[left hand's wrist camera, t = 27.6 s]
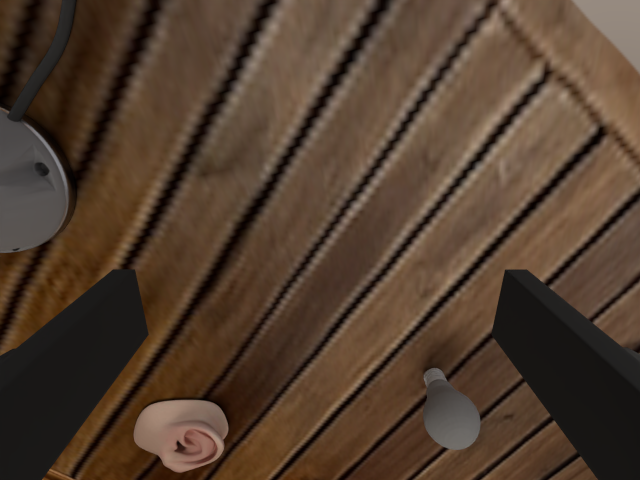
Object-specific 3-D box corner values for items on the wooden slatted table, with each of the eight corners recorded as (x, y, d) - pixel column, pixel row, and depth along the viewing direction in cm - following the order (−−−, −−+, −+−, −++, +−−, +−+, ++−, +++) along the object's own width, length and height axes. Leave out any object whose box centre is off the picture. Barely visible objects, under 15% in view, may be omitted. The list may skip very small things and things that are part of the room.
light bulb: (407, 358, 45) (430, 425, 36) (454, 351, 45) (490, 417, 35) (411, 394, 47) (433, 466, 38) (456, 388, 47) (490, 459, 38)
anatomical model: (122, 481, 48) (113, 418, 44) (136, 454, 51) (130, 393, 47) (221, 489, 48) (222, 427, 44) (228, 461, 52) (229, 402, 48)
